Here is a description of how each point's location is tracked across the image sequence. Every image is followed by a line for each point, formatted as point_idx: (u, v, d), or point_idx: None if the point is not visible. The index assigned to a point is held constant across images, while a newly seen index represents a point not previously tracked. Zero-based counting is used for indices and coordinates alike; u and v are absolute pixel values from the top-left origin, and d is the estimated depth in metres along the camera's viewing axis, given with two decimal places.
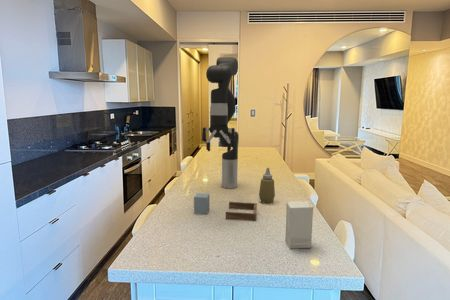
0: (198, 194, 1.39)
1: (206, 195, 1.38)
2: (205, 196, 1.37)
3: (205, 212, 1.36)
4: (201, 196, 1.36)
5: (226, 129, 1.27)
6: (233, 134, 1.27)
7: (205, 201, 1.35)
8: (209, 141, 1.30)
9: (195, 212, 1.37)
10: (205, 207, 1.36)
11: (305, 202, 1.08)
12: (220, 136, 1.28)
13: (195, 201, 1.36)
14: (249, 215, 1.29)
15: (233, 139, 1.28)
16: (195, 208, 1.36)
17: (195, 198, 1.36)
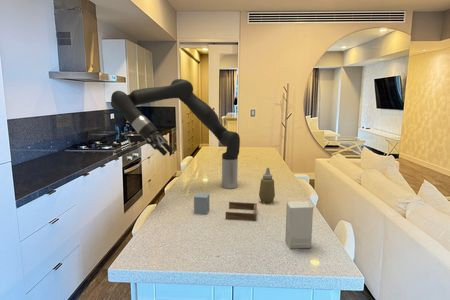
0: (198, 194, 1.39)
1: (206, 195, 1.38)
2: (205, 196, 1.37)
3: (205, 212, 1.36)
4: (201, 196, 1.36)
5: None
6: None
7: (205, 201, 1.35)
8: (165, 144, 1.42)
9: (195, 212, 1.37)
10: (205, 207, 1.36)
11: (305, 202, 1.08)
12: None
13: (195, 201, 1.36)
14: (249, 215, 1.29)
15: None
16: (195, 208, 1.36)
17: (195, 198, 1.36)
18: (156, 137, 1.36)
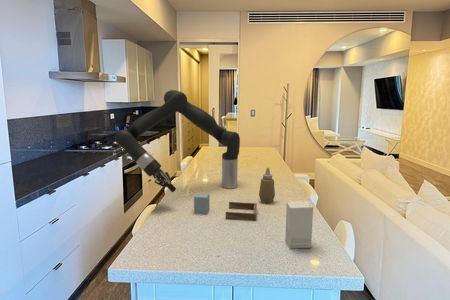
0: (198, 194, 1.39)
1: (206, 195, 1.38)
2: (205, 196, 1.37)
3: (205, 212, 1.36)
4: (201, 196, 1.36)
5: None
6: None
7: (205, 201, 1.35)
8: None
9: (195, 212, 1.37)
10: (205, 207, 1.36)
11: (305, 202, 1.08)
12: None
13: (195, 201, 1.36)
14: (249, 215, 1.29)
15: None
16: (195, 208, 1.36)
17: (195, 198, 1.36)
18: (162, 175, 1.37)
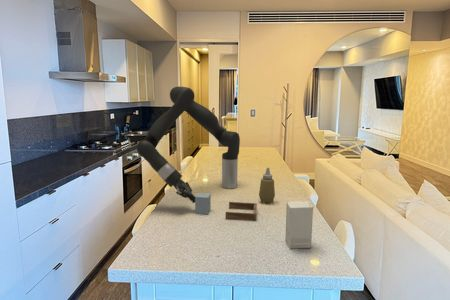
0: (199, 194, 1.39)
1: (207, 195, 1.38)
2: (206, 196, 1.36)
3: (206, 212, 1.36)
4: (202, 196, 1.36)
5: None
6: None
7: (206, 201, 1.35)
8: None
9: (196, 212, 1.37)
10: (206, 207, 1.36)
11: (305, 202, 1.08)
12: None
13: (196, 201, 1.36)
14: (249, 215, 1.29)
15: None
16: (196, 208, 1.36)
17: (196, 198, 1.36)
18: (183, 186, 1.37)
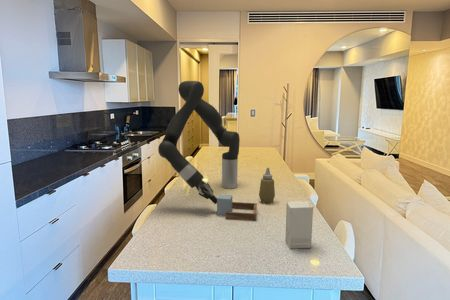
0: (221, 195, 1.38)
1: (229, 196, 1.36)
2: (228, 197, 1.35)
3: None
4: (224, 198, 1.34)
5: None
6: None
7: (228, 203, 1.33)
8: None
9: (218, 213, 1.35)
10: (228, 209, 1.34)
11: (305, 202, 1.08)
12: None
13: (218, 203, 1.34)
14: (249, 215, 1.29)
15: None
16: (218, 209, 1.35)
17: (218, 199, 1.34)
18: (205, 187, 1.35)
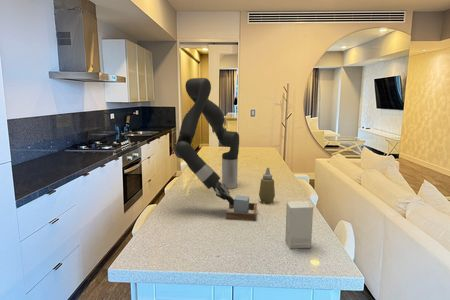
0: (238, 196, 1.36)
1: (246, 198, 1.34)
2: (245, 199, 1.33)
3: None
4: (241, 199, 1.33)
5: None
6: None
7: (245, 204, 1.32)
8: None
9: None
10: (244, 210, 1.32)
11: (305, 202, 1.08)
12: None
13: (235, 204, 1.33)
14: (249, 215, 1.29)
15: None
16: (235, 210, 1.33)
17: (235, 200, 1.33)
18: (222, 188, 1.34)
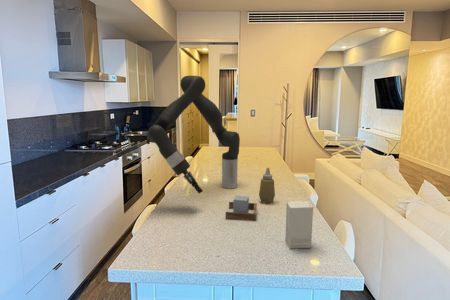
0: (237, 197, 1.36)
1: (246, 198, 1.34)
2: (245, 199, 1.33)
3: None
4: (241, 199, 1.33)
5: (185, 176, 1.34)
6: (190, 182, 1.34)
7: (245, 204, 1.32)
8: None
9: None
10: (244, 211, 1.32)
11: (305, 202, 1.08)
12: None
13: (235, 204, 1.33)
14: (249, 215, 1.29)
15: None
16: (234, 211, 1.33)
17: (234, 201, 1.33)
18: (192, 175, 1.36)
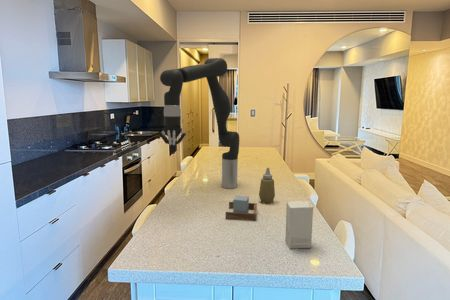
0: (237, 197, 1.36)
1: (245, 198, 1.34)
2: (245, 199, 1.33)
3: None
4: (241, 199, 1.33)
5: (179, 130, 1.35)
6: (181, 138, 1.36)
7: (245, 204, 1.32)
8: (172, 143, 1.38)
9: None
10: (244, 211, 1.32)
11: (305, 202, 1.08)
12: (170, 134, 1.36)
13: (235, 204, 1.33)
14: (249, 215, 1.29)
15: (177, 141, 1.36)
16: (234, 211, 1.33)
17: (234, 201, 1.33)
18: None
